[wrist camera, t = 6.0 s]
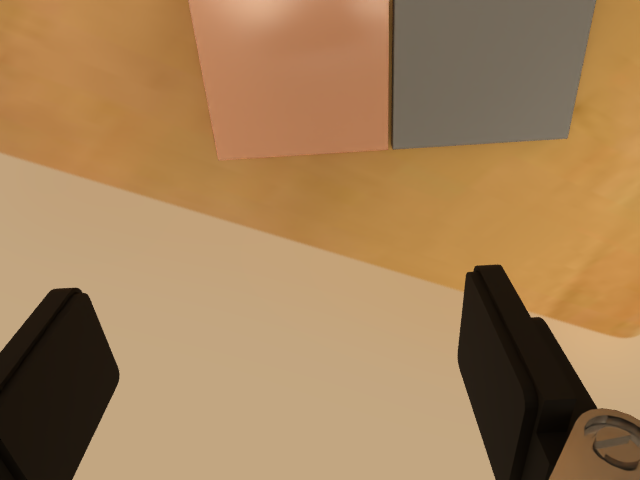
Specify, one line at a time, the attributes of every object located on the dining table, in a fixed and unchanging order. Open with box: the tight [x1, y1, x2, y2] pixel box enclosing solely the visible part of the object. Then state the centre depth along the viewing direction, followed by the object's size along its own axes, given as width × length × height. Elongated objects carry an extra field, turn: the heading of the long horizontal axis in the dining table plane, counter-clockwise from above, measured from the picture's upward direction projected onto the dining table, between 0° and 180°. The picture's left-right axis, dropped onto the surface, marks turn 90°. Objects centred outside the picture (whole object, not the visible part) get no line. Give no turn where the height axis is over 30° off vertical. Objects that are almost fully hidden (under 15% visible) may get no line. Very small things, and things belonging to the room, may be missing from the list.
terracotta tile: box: [188, 0, 389, 160], centre depth 35 cm, size 14×14×1 cm
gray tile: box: [391, 0, 596, 149], centre depth 34 cm, size 14×14×1 cm
